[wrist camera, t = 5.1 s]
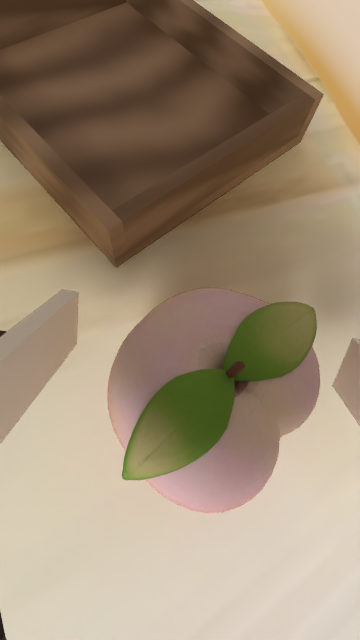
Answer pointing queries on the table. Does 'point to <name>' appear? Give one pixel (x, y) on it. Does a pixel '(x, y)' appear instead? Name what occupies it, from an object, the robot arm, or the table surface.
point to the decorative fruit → (212, 394)
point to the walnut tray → (140, 111)
